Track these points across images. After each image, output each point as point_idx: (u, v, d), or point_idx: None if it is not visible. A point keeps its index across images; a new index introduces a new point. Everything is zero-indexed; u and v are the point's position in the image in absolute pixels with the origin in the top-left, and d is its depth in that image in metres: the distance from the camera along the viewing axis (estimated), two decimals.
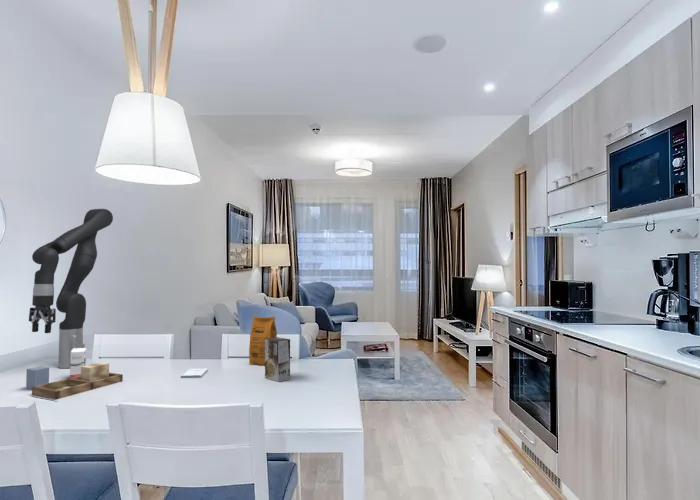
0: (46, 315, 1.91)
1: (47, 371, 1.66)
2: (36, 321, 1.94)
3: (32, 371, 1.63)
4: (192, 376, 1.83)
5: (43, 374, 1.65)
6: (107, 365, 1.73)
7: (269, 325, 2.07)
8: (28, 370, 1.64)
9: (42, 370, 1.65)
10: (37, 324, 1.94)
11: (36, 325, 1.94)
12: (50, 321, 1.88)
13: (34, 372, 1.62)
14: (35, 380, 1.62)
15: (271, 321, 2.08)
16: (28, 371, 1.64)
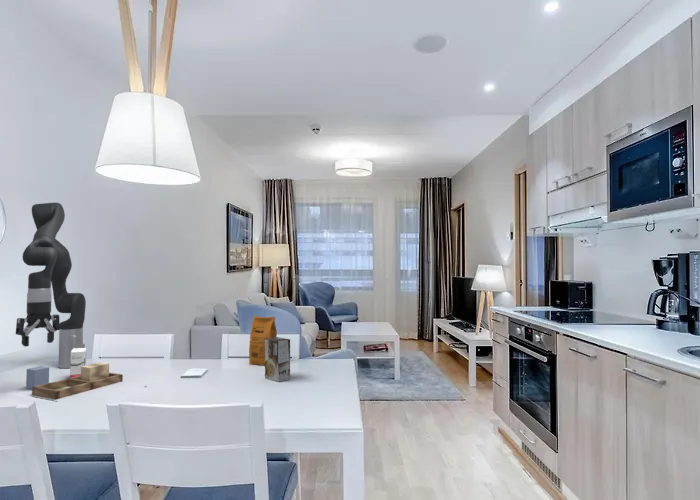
0: None
1: (47, 371, 1.66)
2: None
3: (32, 371, 1.63)
4: (192, 376, 1.83)
5: (43, 374, 1.65)
6: (107, 365, 1.73)
7: (269, 325, 2.07)
8: (28, 370, 1.64)
9: (42, 370, 1.65)
10: None
11: None
12: None
13: (34, 372, 1.62)
14: (35, 380, 1.62)
15: (271, 321, 2.08)
16: (28, 371, 1.64)
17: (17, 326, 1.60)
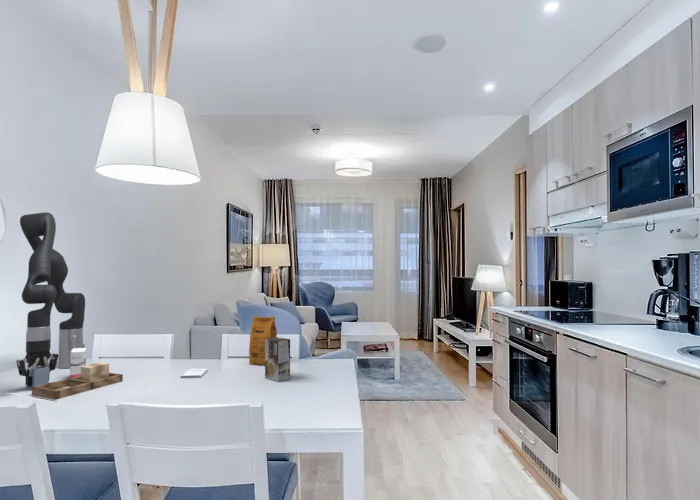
0: None
1: (47, 371, 1.66)
2: None
3: None
4: (192, 376, 1.83)
5: (43, 374, 1.65)
6: (107, 365, 1.73)
7: (269, 325, 2.07)
8: None
9: (42, 370, 1.65)
10: None
11: None
12: None
13: (34, 372, 1.62)
14: (35, 380, 1.62)
15: (271, 321, 2.08)
16: None
17: (19, 368, 1.60)
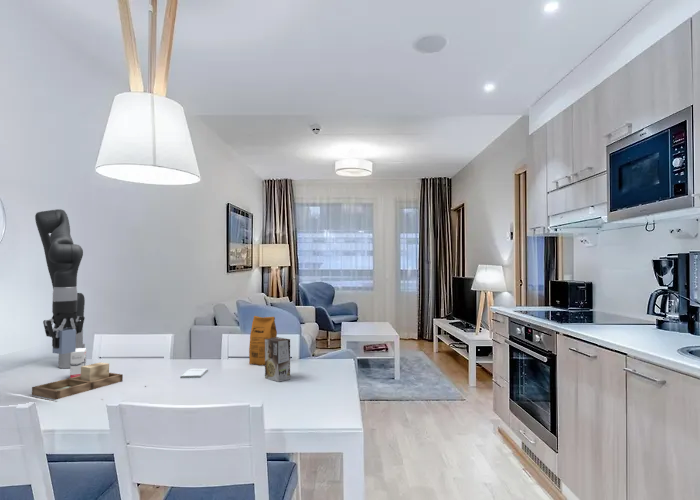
0: None
1: (74, 333, 1.61)
2: None
3: None
4: (192, 376, 1.83)
5: (69, 335, 1.60)
6: (107, 365, 1.73)
7: (269, 325, 2.07)
8: None
9: (69, 331, 1.60)
10: None
11: None
12: None
13: (61, 333, 1.58)
14: (62, 341, 1.58)
15: (271, 321, 2.08)
16: None
17: (46, 329, 1.55)
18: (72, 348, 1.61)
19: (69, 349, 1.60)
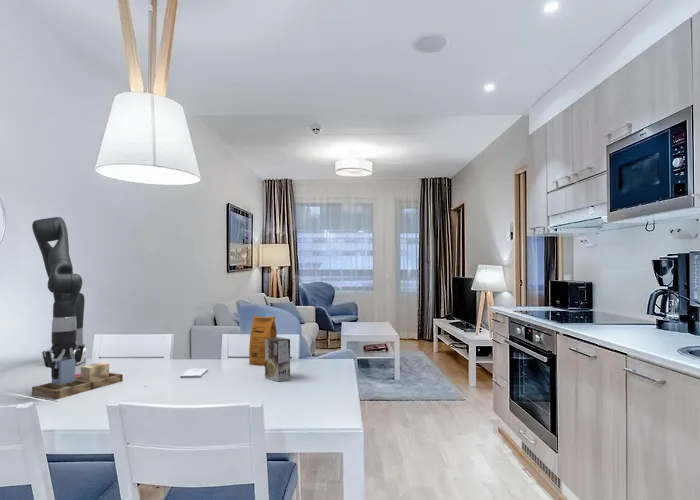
0: None
1: (73, 363, 1.61)
2: None
3: None
4: (191, 376, 1.83)
5: (69, 366, 1.60)
6: (107, 365, 1.73)
7: (269, 325, 2.07)
8: None
9: (68, 362, 1.59)
10: None
11: None
12: None
13: (60, 364, 1.57)
14: (61, 372, 1.57)
15: (271, 321, 2.08)
16: None
17: (45, 360, 1.55)
18: (71, 378, 1.60)
19: (68, 379, 1.59)
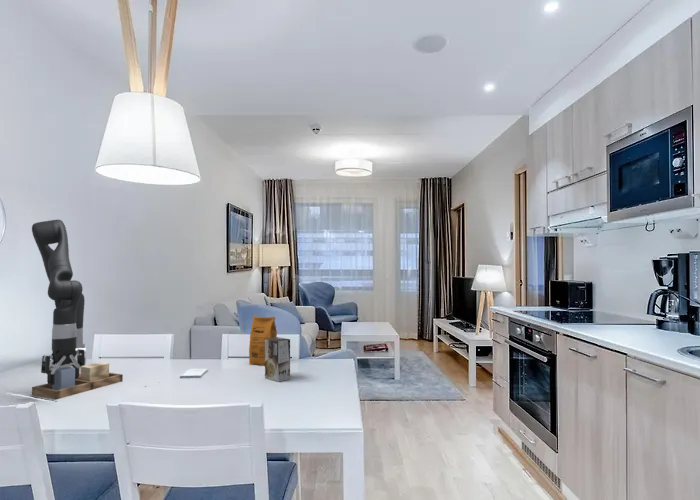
0: None
1: (73, 372, 1.61)
2: None
3: (58, 372, 1.58)
4: (191, 376, 1.83)
5: (69, 375, 1.60)
6: (107, 365, 1.73)
7: (269, 325, 2.07)
8: None
9: (68, 371, 1.60)
10: None
11: None
12: None
13: (61, 373, 1.57)
14: (61, 381, 1.57)
15: (271, 321, 2.08)
16: (54, 372, 1.59)
17: (43, 364, 1.54)
18: None
19: None
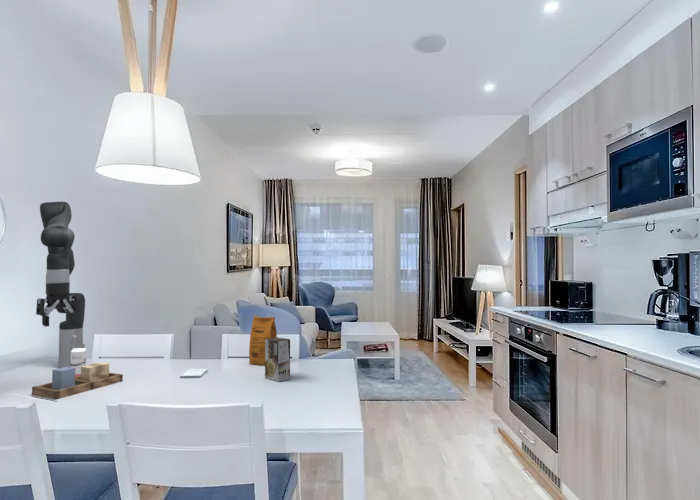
0: None
1: (73, 372, 1.61)
2: None
3: (58, 372, 1.58)
4: (191, 376, 1.83)
5: (69, 375, 1.60)
6: (107, 365, 1.73)
7: (269, 325, 2.07)
8: (54, 371, 1.59)
9: (68, 371, 1.60)
10: None
11: None
12: None
13: (61, 373, 1.57)
14: (61, 381, 1.57)
15: (271, 321, 2.08)
16: (54, 372, 1.59)
17: (37, 306, 1.62)
18: None
19: None
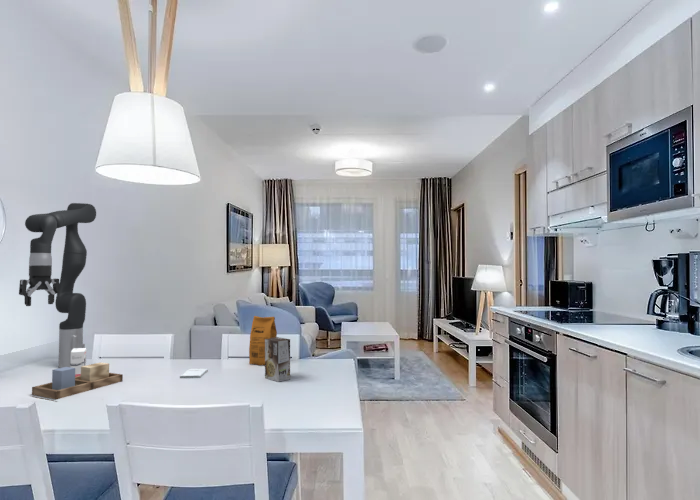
0: None
1: (73, 372, 1.61)
2: None
3: (58, 372, 1.58)
4: (191, 376, 1.83)
5: (69, 375, 1.60)
6: (107, 365, 1.73)
7: (269, 325, 2.07)
8: (54, 371, 1.59)
9: (68, 371, 1.60)
10: None
11: None
12: None
13: (61, 373, 1.57)
14: (61, 381, 1.57)
15: (271, 321, 2.08)
16: (54, 372, 1.59)
17: (20, 287, 1.73)
18: None
19: None
